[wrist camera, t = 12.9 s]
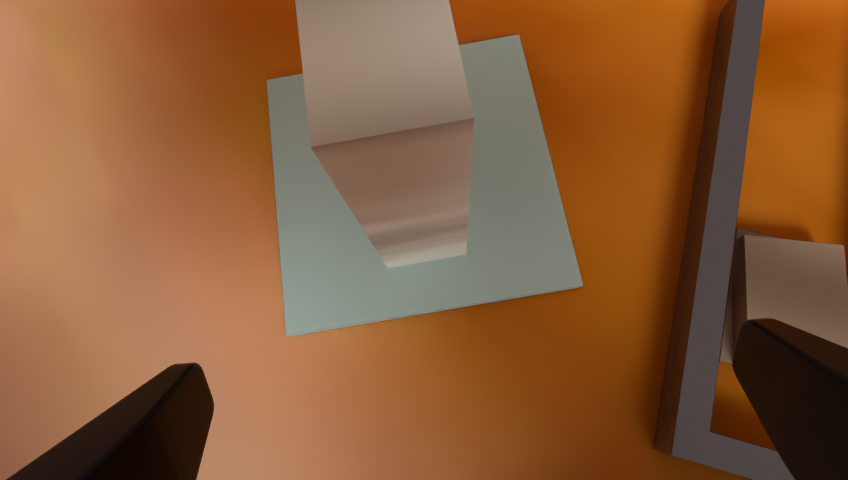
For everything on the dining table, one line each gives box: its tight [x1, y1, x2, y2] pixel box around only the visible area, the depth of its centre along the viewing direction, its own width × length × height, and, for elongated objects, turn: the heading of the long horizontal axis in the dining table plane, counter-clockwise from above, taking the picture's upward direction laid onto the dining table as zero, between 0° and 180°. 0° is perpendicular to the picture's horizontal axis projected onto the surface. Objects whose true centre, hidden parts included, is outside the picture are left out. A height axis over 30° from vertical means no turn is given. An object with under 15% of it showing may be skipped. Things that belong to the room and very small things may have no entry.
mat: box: [266, 34, 583, 336], centre depth 20 cm, size 11×11×1 cm
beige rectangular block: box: [295, 0, 474, 268], centre depth 15 cm, size 7×3×10 cm, turn 9°
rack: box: [653, 0, 795, 480], centre depth 18 cm, size 18×7×2 cm, turn 164°
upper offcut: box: [731, 235, 848, 354], centre depth 17 cm, size 4×3×1 cm
